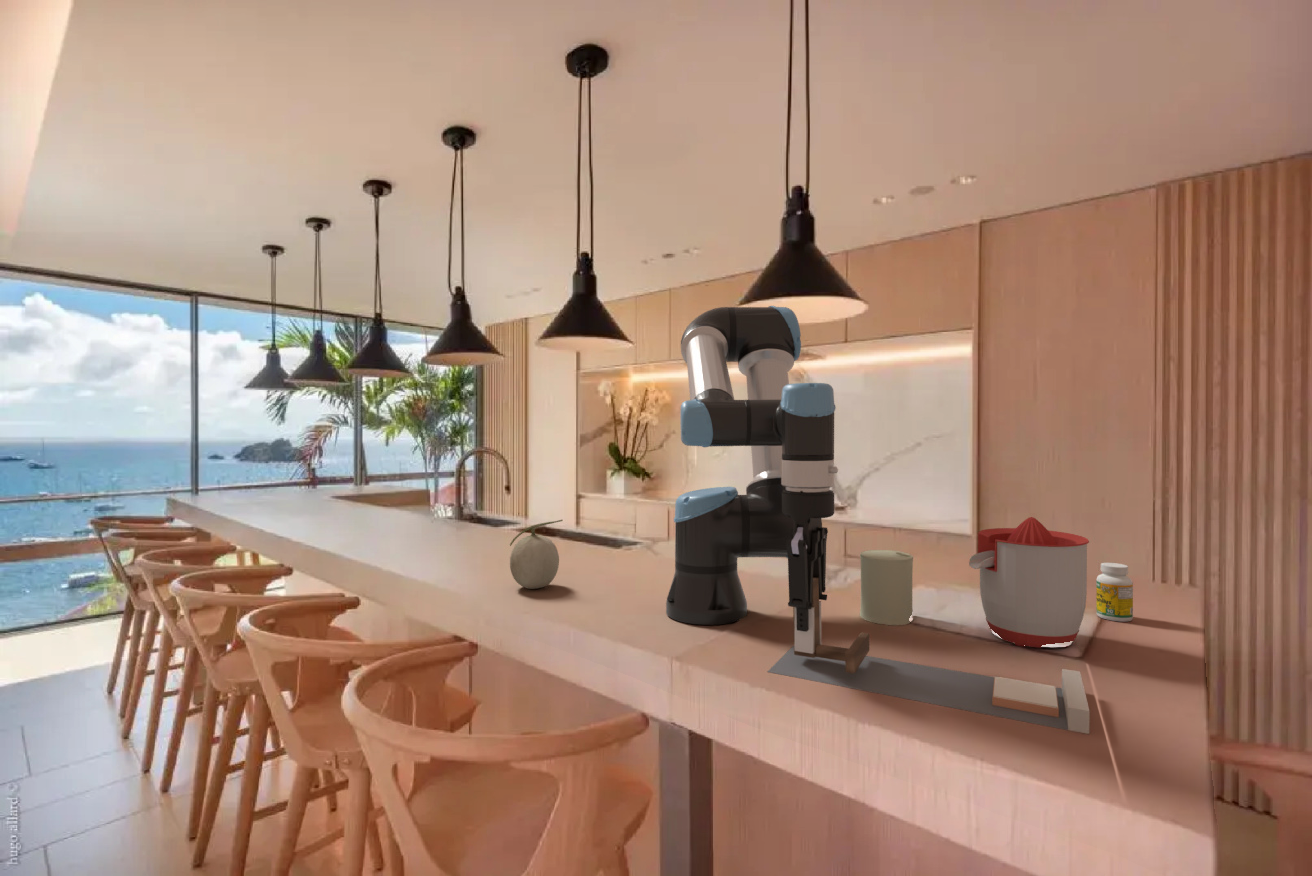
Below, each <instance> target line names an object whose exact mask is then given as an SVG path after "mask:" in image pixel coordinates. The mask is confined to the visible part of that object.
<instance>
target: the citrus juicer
mask: <svg viewBox="0 0 1312 876" xmlns="http://www.w3.org/2000/svg"><path fill="white" fill-rule="evenodd" d="M1089 543H1090V540H1089V539H1088V538H1087V537H1084V536H1082V535H1079V534H1074V533H1068V532H1063V531H1056V530H1049V529H1047V528H1046V527H1045V525H1043V523H1041V522H1040V521H1039V520H1038V519H1036V518H1035V517H1033V516H1030V517H1028V518H1025V520H1023V521H1022V522H1021V523H1019V525H1018V526H1017V527H1002V528H1001V527H998V528H986V529H982V530H980V531H978V533H977V553H976V554H973V555H971V556H970V557H969V561H968V566H969V567H971V568H972V569H974V570H976V569H977V570H979V588H980V589H979V590H980V593H979V594H980V600H981V604H982V608H983V612H984V616H985V621H986V623H987V626H988V625H989V626H988V628H989V627H990V628H989V630H990V629H992V630H993V631H994V632H995V633H997V634H998V635H999V636H1000V637H1001V638H1002V639H1001V640H1002V641H1003V640H1004V641H1005V642H1009V643H1011V644H1014V643H1015V644H1014V645H1015V646H1018V647H1019V648H1020V647H1021V648H1022V647H1023V648H1027V647H1026V646H1029V647H1031V648H1039V649H1040V648H1041V646H1042V645H1046V644H1055V643H1064V642H1070V641H1074V642H1075V640H1076V638H1077V636H1078V634H1079V632H1080V628H1081V624H1082V622H1083V619H1084V616H1085V615H1084V614H1085V610H1086V605H1087V596H1088V595H1087V592H1088V591H1087V587H1088V583H1087V580H1088V579H1087V578H1088V577H1087V575H1088V574H1087V573H1088V572H1087V571H1088V544H1089ZM1024 645H1025V646H1024Z"/></svg>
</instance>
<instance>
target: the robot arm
mask: <svg viewBox="0 0 1312 876" xmlns="http://www.w3.org/2000/svg"><path fill="white" fill-rule="evenodd" d="M801 340H802V339H801V328H800V324H799V320H798V318H797V315H796V313H795V312H794V311H793V310H792V309H790V308H789V307H787V306H785V307H784V306H776V305H768V306H756V307H755V306H748V307H747V306H745V307H744V306H740V307H739V306H736V307H735V306H733V307H732V306H729V307H728V306H722V307H721V306H720V307H715V308H712V309H708V310H706V311H705V312H703V313H701V314H700V315H698V316H697V317H695V318H694V319H693V320H692V321H690V323H689V324H688V326H687V327H686V328H685V330H684V331H683V334H682V335H681V340H680V353H681V357H682V359H683V361H684V362H685V363H686V366H687V376H688V388H689V399H688V400H684V401H683V402H681V405H680V412H679V413H680V440H681V442H682V444H684V445H685V446H688V447H689V446H690V447H701V448H709V447H711V448H713V447H742V446H743V447H750V448H751V451H750V452H751V463H752V477H753V478H752V480H751V481H750V482H749V483H748V484H746V485H747V486H746V489H745V492H746V494H739V492H738V491H739V490H737V488H736V487H735V486H718V487H709V488H701V489H695V490H692V491H691V490H690V491H688V492H684V493H683V494H680V495H679V496H678V497H677V498H676V501H675V505H674V518H673V523H675V526H674V529H675V530H674V531H675V532H674V535H675V536H674V537H675V538H674V539H675V540H674V541H675V542H674V543H675V544H674V555H675V556H674V557H675V558H674V559H675V560H674V563H675V564H674V566H675V567H674V574H673V578H672V582H671V585H670V588H669V590H668V595H667V597H666V601H665V607H666V609H665V614H666V615H667V616H668V617H669V618H671V619H673V620H675V621H678V622H681V623H686V624H691V625H699V626H700V625H703V626H706V625H707V626H709V625H710V626H711V625H712V626H713V625H714V626H715V625H716V626H717V625H724V624H731V623H736V622H738V621H741V620H742V619H744V618H745V617H746V616H747V614H748V601H747V598H746V594H745V592H744V589H743V586H742V583H741V580H740V577H739V573H738V558H786V559H787V573H788V575H787V577H788V602H787V605H788V607H791V608H793V607H794V617H795V651H799V652H805V653H811V654H813V653H814V607H812V591H813V577H817V578H819V624H820V645H822V601H827V600H828V594H823V593H825V592H826V589H827V588H826V574H827V573H826V572H827V571H826V570H827V569H826V567H827V566H826V564H827V539H828V533H829V529H828V527H824V526H823V521H822V519H826V518H831V517H832V516H834V514H835V492H834V491H833V490H832V489H830V488H833V487H834V486H835V474H837V473H838V472H839V469H838V467H837V466H834V465H835V411H836V409H837V408H836V407H837V406H836V404H835V396H834V395H835V393H834V388H833V386H832V385H830V383H826V382H797V383H790V381H789V372H790V371H791V370H792V368H793V367H794V365H795V362H796V361H797V360H798V359H799V358H800V355H801V350H802V349H801V348H802V341H801ZM728 363H737V368H738V371H739V373H741V374H742V375H743V376H745V378H746V389H747V390H746V391H747V399H735V397H734V390H733V387H732V382H731V379H730V374H729V368H728Z"/></svg>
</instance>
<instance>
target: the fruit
mask: <svg viewBox="0 0 1312 876" xmlns="http://www.w3.org/2000/svg"><path fill="white" fill-rule="evenodd" d="M559 522H563V519H559V520H554V521H548V522H540V523H538V524H534V525H531V526H529V527H527V528H525V529H523V530H522V531H520V532H519V533H518V534H517V535H515V536H514V537H513V539H512V540H511V542H510V543H509V546H510V547H511V546H512V545H513V543H514V542H515V541H516V540H517V539H518V538H519V537H520V536H521V535H523V534H524V533H526V532H527V531H529V530H530V533H531V534H529V535H527V536H524V537H522V538H521V539H519V540H518V541H517V542H516V544H514V546H513V548H512V550H511V551H510V552H511V553H510V557H509V568H510V569H509V570H510V572H511V575H512V578H513V579H514V581H515V582H516V583H517V584H518V585H520V586H521V587H524V588H526V589H528V590H530V589H531V590H536V589H542V588H545V587H547V586H548V585H550V584H551V583H552V582H553V581H554V578H555V577H556V576H557V573H558V570H559V566H560V556H559V555H560V554H559V552H558V548H557V546H556V545H555V543H554V542H553V540H552V539H550V538H549V537H547V536H544V535H542V534H536V529H537V528H540V527H542V526H546V525H550V524H554V523H559Z"/></svg>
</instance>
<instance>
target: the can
mask: <svg viewBox="0 0 1312 876" xmlns="http://www.w3.org/2000/svg"><path fill="white" fill-rule="evenodd" d="M859 557H860V558H859V559H860V560H859V561H860V609H859V610H860V611H859V612H860V613H859V617H860V618H861V619H862V620H865V621H866V622H869V623H872V624H878V625H882V624H885V625H884V626H904V625H909V624H911V623H910V621H909V618H910V616H911V615H912V612H913V571H914V570H913V566H914V563H913V562H914V555H912V554H911V553H908V552H904V551H899V550H893V549H892V550H891V549H870V550H864V551H861V552H860V554H859Z"/></svg>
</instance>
